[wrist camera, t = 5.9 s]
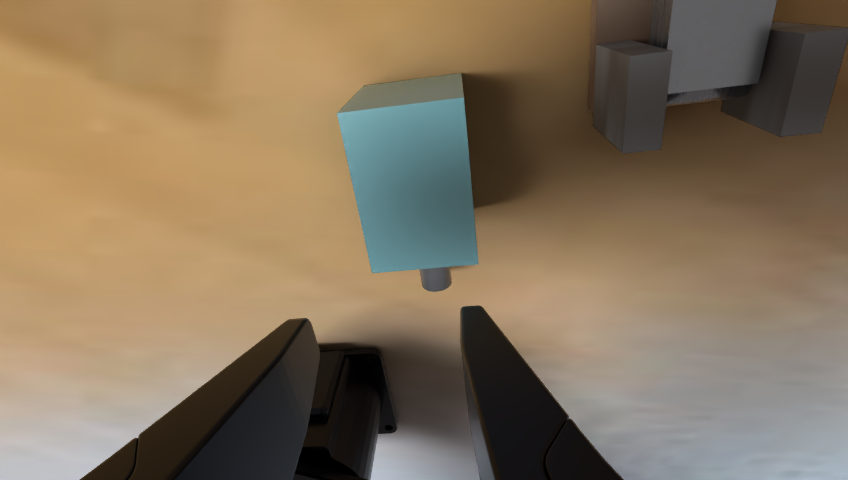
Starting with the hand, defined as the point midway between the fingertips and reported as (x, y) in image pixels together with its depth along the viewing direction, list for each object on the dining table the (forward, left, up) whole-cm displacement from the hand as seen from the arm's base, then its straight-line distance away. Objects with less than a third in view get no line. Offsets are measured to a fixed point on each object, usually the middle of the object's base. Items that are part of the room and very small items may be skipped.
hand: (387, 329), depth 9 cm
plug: (-1, 0, -12) cm, 12 cm away
